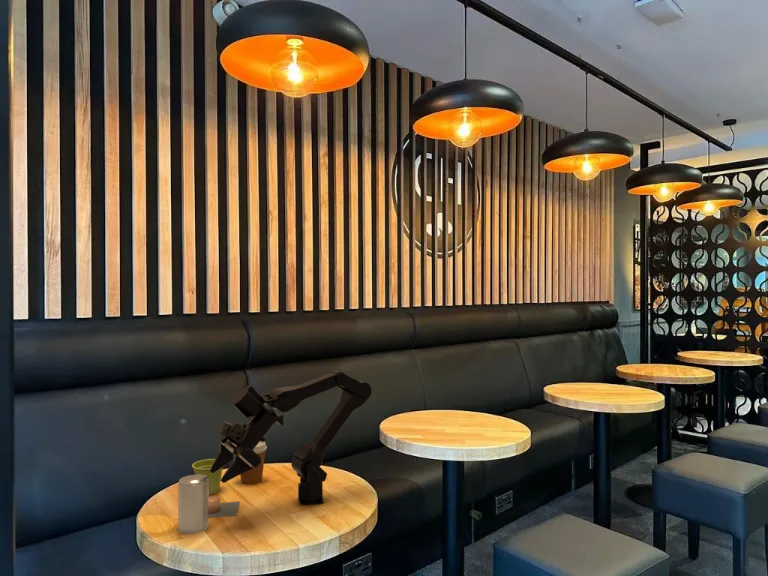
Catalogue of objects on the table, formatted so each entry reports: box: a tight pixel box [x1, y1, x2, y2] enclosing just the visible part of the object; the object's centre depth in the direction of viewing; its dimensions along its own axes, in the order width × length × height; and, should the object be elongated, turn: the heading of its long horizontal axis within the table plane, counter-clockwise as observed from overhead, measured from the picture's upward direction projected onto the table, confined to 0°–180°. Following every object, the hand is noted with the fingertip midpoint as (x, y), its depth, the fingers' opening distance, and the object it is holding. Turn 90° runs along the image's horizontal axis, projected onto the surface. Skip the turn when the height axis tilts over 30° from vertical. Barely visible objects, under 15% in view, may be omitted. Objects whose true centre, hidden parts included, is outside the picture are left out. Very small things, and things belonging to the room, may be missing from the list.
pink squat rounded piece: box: [209, 495, 221, 513], centre depth 145 cm, size 4×4×3 cm
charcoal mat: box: [209, 501, 241, 519], centre depth 145 cm, size 14×10×1 cm
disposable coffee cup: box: [237, 441, 268, 485], centre depth 169 cm, size 10×10×12 cm
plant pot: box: [191, 458, 224, 496], centre depth 160 cm, size 9×9×9 cm
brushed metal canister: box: [177, 474, 210, 535], centre depth 135 cm, size 7×7×12 cm
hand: (216, 476), depth 138 cm, fingers open, 9 cm apart
